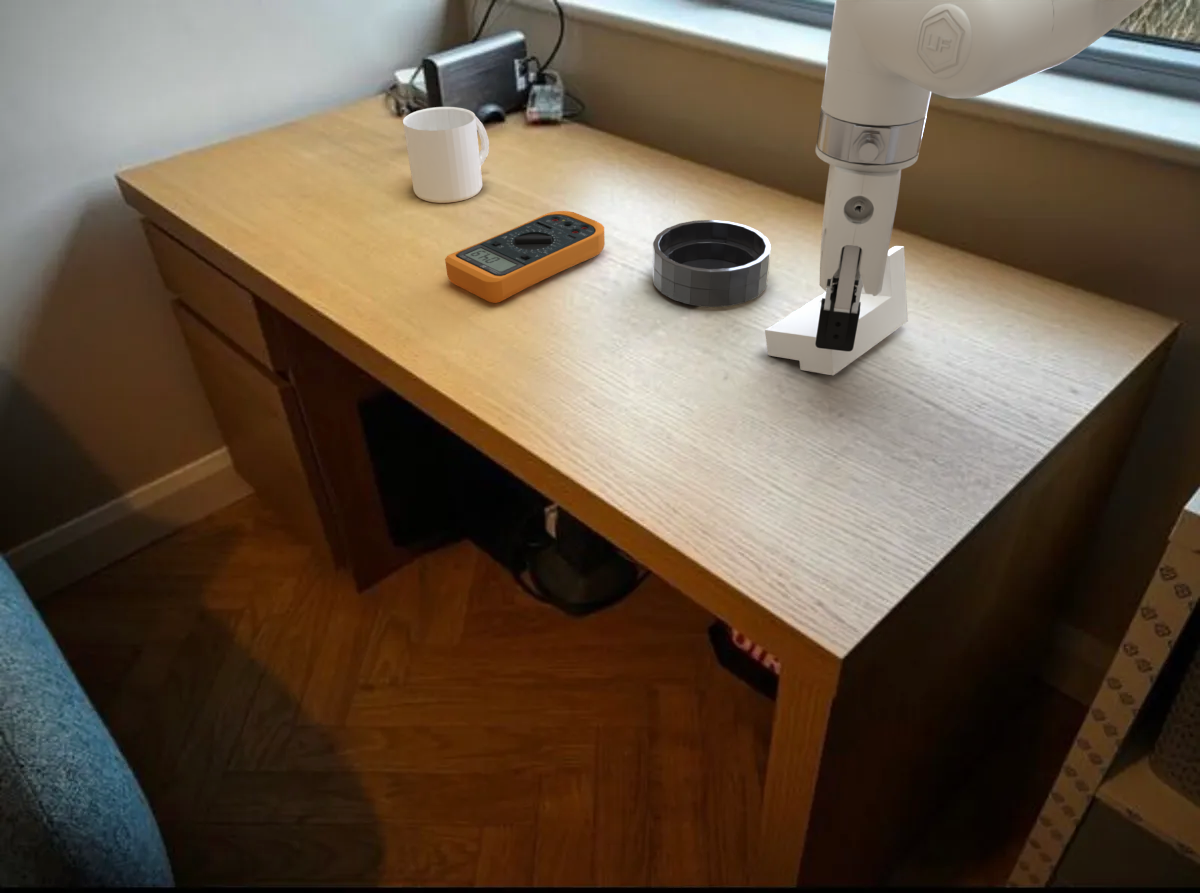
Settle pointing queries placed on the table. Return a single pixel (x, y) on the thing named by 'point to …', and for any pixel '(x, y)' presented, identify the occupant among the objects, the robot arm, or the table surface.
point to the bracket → (874, 325)
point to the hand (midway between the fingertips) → (834, 344)
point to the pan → (711, 263)
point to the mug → (445, 153)
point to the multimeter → (525, 255)
